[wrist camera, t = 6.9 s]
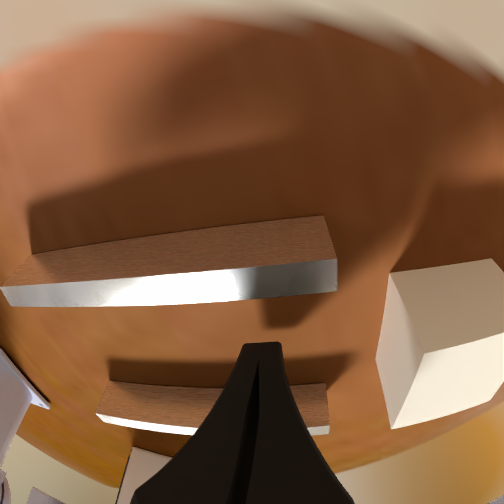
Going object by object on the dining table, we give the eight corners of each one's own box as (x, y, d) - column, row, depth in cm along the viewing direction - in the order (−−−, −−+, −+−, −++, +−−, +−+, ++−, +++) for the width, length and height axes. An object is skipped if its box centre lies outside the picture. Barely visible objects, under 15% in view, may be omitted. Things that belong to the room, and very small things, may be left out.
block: (374, 356, 13) (391, 429, 9) (388, 271, 10) (424, 353, 7) (462, 338, 12) (489, 400, 9) (490, 256, 10) (539, 319, 6)
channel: (116, 389, 16) (103, 421, 14) (31, 254, 11) (-1, 286, 9) (325, 392, 14) (328, 433, 12) (323, 215, 9) (337, 258, 7)
